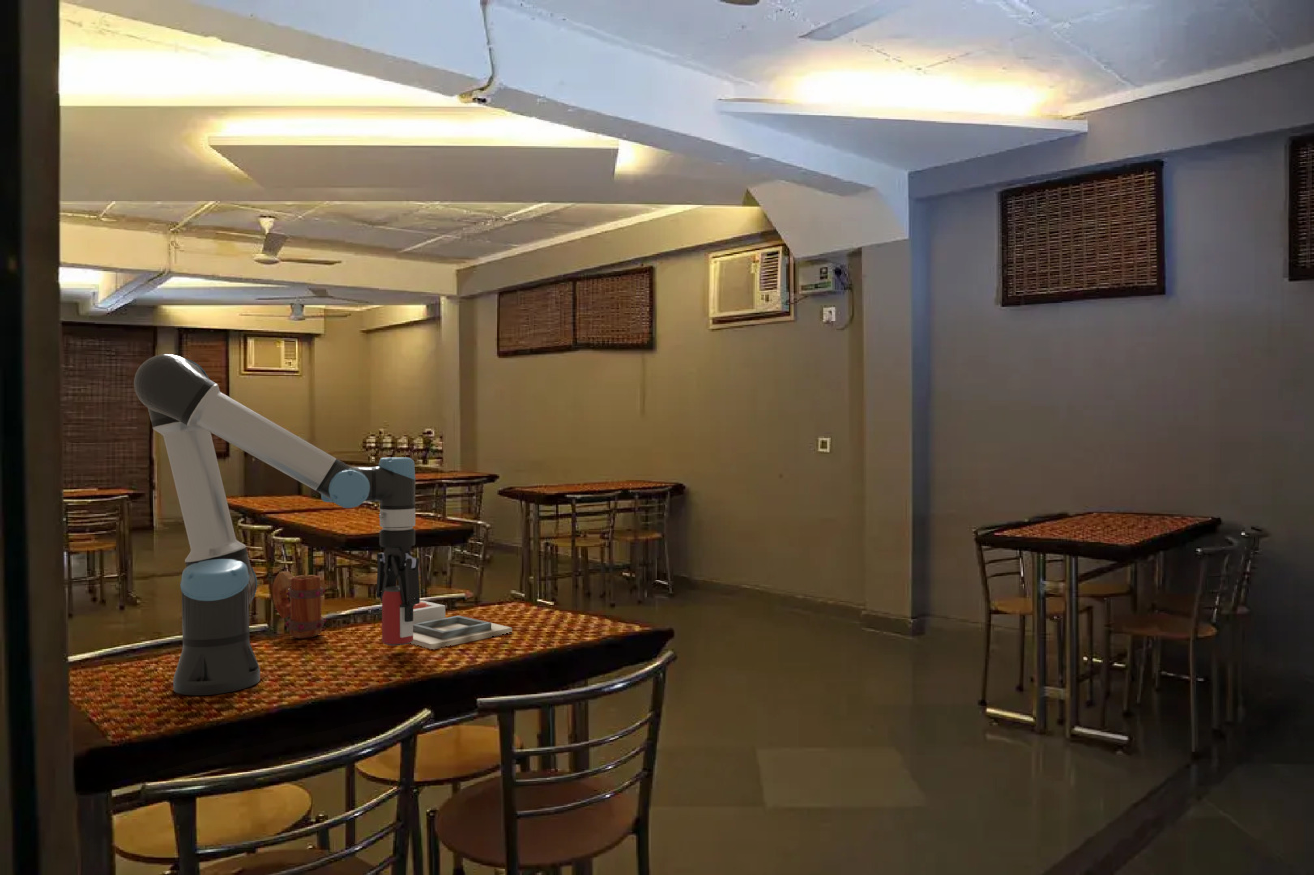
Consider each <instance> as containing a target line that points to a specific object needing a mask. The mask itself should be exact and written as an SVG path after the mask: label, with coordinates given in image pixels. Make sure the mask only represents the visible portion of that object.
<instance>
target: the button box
mask: <svg viewBox="0 0 1314 875" xmlns="http://www.w3.org/2000/svg"><path fill="white" fill-rule="evenodd" d="M420 602H424V603H426V607H424V608H418V609H413V624H416V623H421V622H427V621H432V620H438V619H443V618H446V605H444V604H439V603H435V602H432V601H431V602H430V601H425V600H420Z"/></svg>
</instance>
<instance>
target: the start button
mask: <svg viewBox="0 0 1314 875" xmlns="http://www.w3.org/2000/svg"><path fill="white" fill-rule="evenodd" d="M424 607H426V603H424V602H420V603H419V604H416V605H414V606H413V609H418V608H424Z"/></svg>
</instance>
